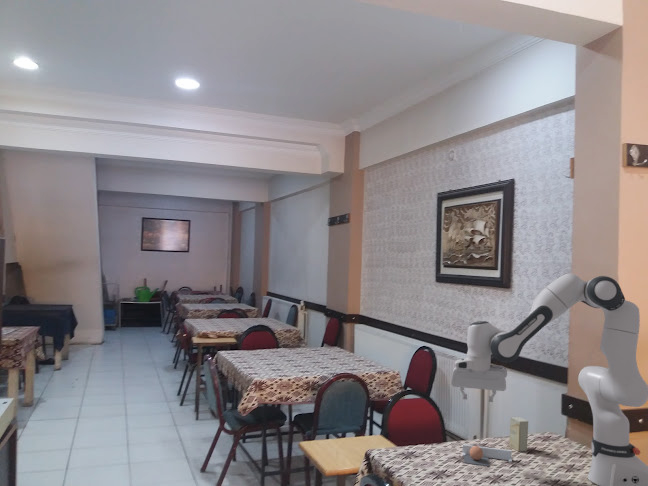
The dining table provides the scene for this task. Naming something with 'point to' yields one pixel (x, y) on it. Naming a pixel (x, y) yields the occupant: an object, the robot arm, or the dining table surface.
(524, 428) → the skincare box
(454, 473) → the dining table surface
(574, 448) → the dining table surface
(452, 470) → the dining table surface
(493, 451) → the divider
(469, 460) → the coaster
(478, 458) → the ball
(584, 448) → the dining table surface
